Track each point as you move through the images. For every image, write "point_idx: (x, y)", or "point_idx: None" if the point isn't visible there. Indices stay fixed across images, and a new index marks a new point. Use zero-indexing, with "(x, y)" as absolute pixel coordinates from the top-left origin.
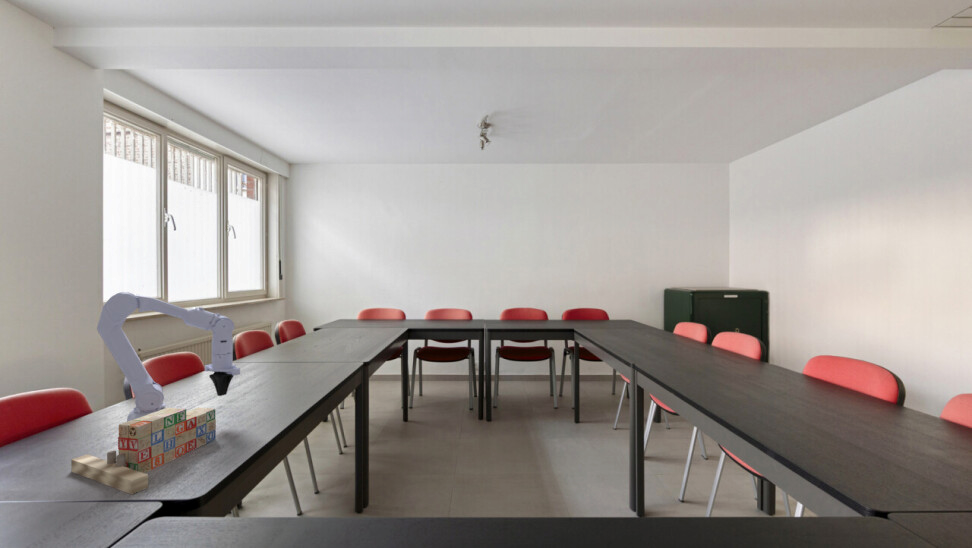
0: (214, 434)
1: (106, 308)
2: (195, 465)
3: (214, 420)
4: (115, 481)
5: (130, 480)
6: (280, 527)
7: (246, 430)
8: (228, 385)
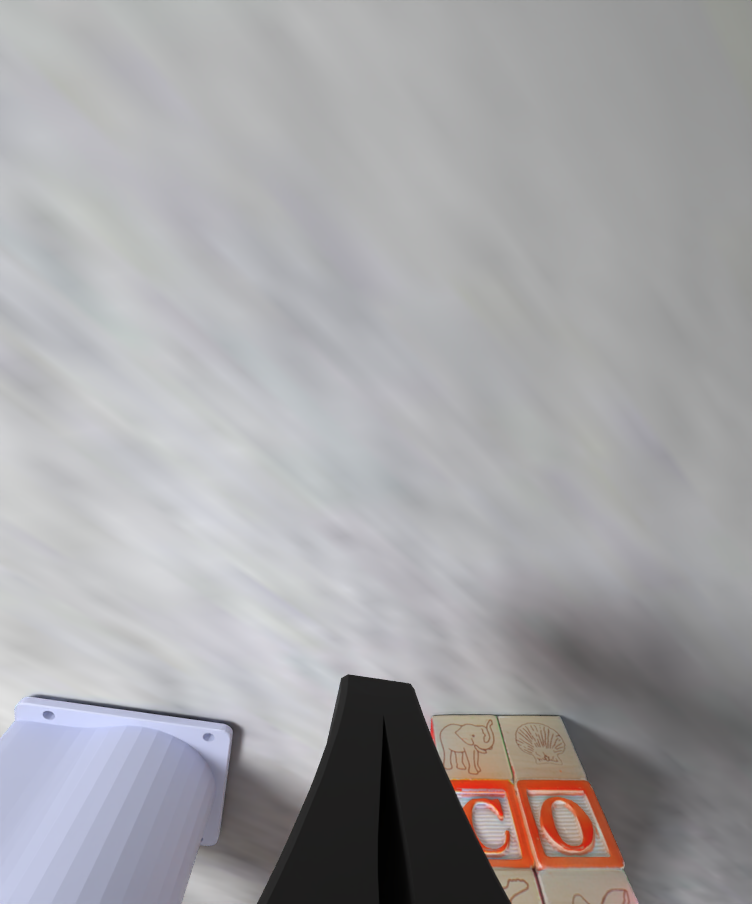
0: (571, 753)
1: None
2: (676, 900)
3: (621, 867)
4: None
5: None
6: None
7: (668, 570)
8: (478, 851)
